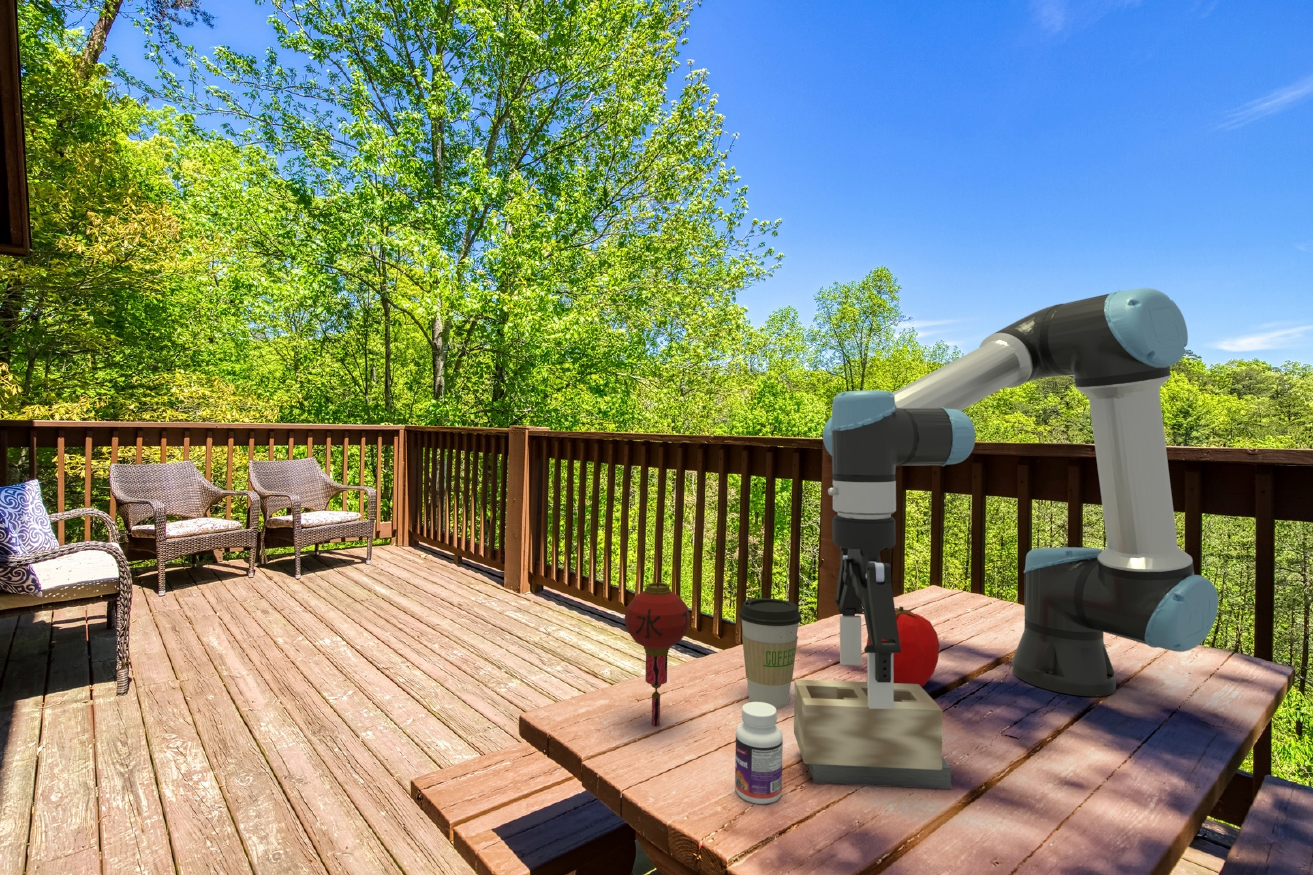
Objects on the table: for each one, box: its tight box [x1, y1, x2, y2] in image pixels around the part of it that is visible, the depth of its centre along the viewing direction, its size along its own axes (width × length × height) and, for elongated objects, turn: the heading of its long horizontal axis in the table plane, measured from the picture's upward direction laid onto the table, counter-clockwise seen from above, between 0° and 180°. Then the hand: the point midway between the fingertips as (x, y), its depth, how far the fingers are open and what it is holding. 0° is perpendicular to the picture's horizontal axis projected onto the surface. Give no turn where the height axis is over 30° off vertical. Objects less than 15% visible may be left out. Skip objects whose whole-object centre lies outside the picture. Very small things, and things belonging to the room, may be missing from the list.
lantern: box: [624, 514, 691, 727], centre depth 90 cm, size 10×10×30 cm
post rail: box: [807, 756, 952, 790], centre depth 78 cm, size 16×7×6 cm, turn 87°
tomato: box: [866, 606, 940, 688], centre depth 106 cm, size 12×12×13 cm
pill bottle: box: [734, 701, 784, 805], centre depth 73 cm, size 5×5×10 cm
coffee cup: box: [738, 597, 802, 709], centre depth 99 cm, size 10×10×15 cm
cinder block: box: [793, 678, 944, 770], centre depth 78 cm, size 16×8×7 cm, turn 86°
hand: (864, 684), depth 79 cm, fingers open, 13 cm apart
